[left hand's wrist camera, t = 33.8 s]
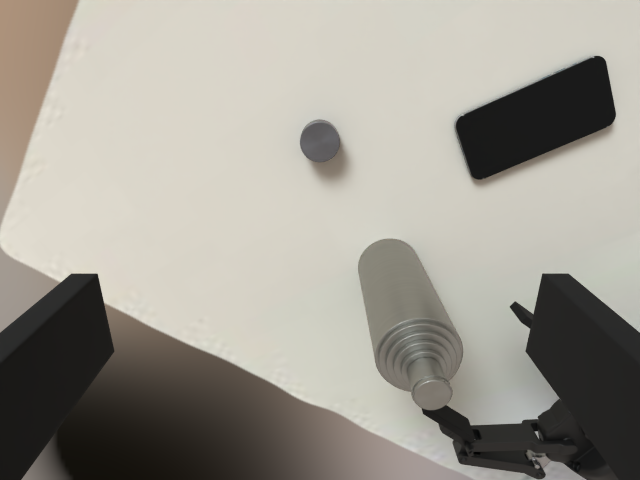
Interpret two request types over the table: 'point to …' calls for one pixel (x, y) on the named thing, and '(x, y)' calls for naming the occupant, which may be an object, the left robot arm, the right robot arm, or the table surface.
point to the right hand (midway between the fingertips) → (467, 358)
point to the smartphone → (537, 118)
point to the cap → (319, 141)
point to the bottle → (408, 324)
